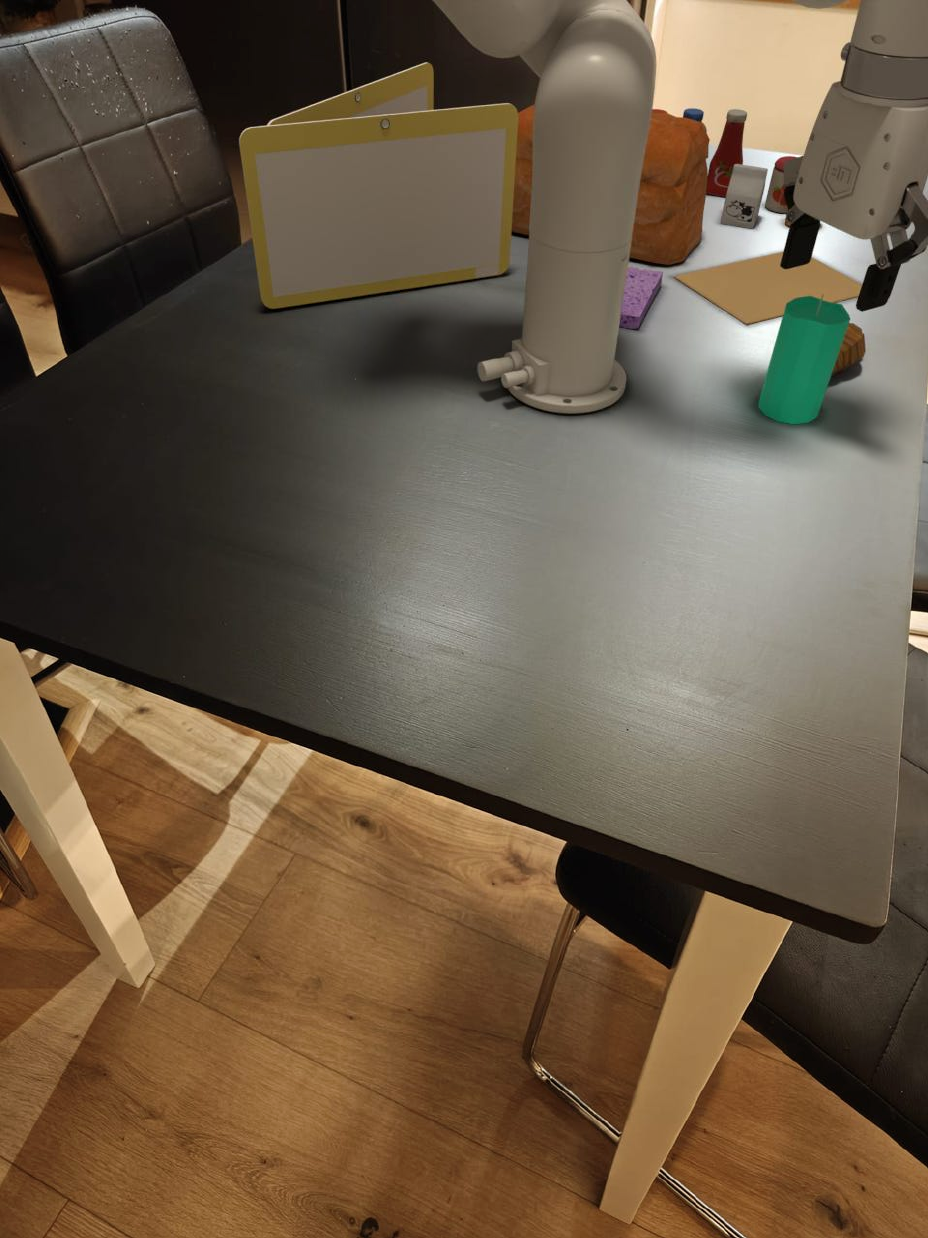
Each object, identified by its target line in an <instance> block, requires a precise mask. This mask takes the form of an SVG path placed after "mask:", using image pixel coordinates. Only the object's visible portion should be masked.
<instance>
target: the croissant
mask: <svg viewBox="0 0 928 1238" xmlns="http://www.w3.org/2000/svg"><path fill="white" fill-rule="evenodd" d="M866 352H867V351H866V338H865V333H863V328H861V327H860V326H858V325H857V324H855V323H853V322H849V324H848V327H847V330H846V333H845V336H844V339H843V342H842V345H841V348H840V351H839V354H838V357H837V360H836V363H835V366H834V369H833V371H832V374H831V377H830V379H832V378H833V376H835V375H837V374H840V373H842V372H843V371H845V370H846V369H848V368H850V367H851V366H853V365H854V364H855V363H856V362H858V361H860V360H861V359H863V358H864V357H865V355H866Z"/></svg>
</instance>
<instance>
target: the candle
mask: <svg viewBox="0 0 928 1238" xmlns="http://www.w3.org/2000/svg"><path fill="white" fill-rule="evenodd" d="M823 296H824V294H822V297H821V299H819V298H816V297H813V296H806V297H799V298H795V299H793V300H791V301H790V302H788V303H786V307H785V310H784V314H783V316H781V322H780V324H779V329H778V332H777V335H776V340H775V342H774V346H773V349H772V352H771V357H770V359H769V363H768V368H767V370H766V374H765V378H764V381H763V384H762V388H761V392H760V395H759V399H758V405H757V408H758V409H759V410H760V411H761V412H762V414H763V415H764V416H766V417H768V418H770V419H772V420H774V421H775V422H779V423H785V424H790V425H801V424H808V423H811V422H812V421H813V420H815V419H816V418H818V416H819V413H820V409H821V407H822V405H823V401H824V397H825V395H826V392H827V389H828V387H829V383H830V380H831V378H832V377H831V374H832V371H833V369H834V366H835V363H836V360H837V357H838V354H839V351H840V348H841V345H842V342H843V339H844V336H845V333H846V330H847V327H848V324H849V323H850V321H851V317H850V314H849V312H848V311H847V310H846V308H845V306H844V305H843V304H842V303H839V302H835V303H832V302H827V301H824V300H822V299H823ZM830 377H831V378H830Z"/></svg>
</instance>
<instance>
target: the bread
mask: <svg viewBox="0 0 928 1238" xmlns="http://www.w3.org/2000/svg"><path fill="white" fill-rule="evenodd" d="M534 106H535V102H534V103H533V104H532V105H531V106H528V107H526V108H525V109H523V110H520V111H519V112H518V131H517V148H516V164H515V181H514V197H513V213H512V230H511V232H513V233H517V234H521V235H525V236H529V233H530V232H529V223H530V207H531V191H532V167H533V116H534ZM702 123H703V121H702V122H698V121H695V120H692V119H689V118H683V116H682V117H681V116H676V115H673V114H670V113H668V112H667V113H652V115H651V122H650V128H649V133H648V139H647V144H646V149H645V154H644V161H643V167H642V173H641V179H640V186H639V193H638V199H637V206H636V213H635V220H634V226H633V233H632V242H631V249H630V256H629V259H635V260H640V261H644V262H649V263H655V264H662V265H666V266H670V265H674V264H677V263H681V262H684V260H686V258H687V257H688V256H689V254H690V253H691V252H692V251H693V249H694V248H696V246H697V245H698V244H699V243H700V242H701V240H702V234H703V222H704V212H705V211H704V210H705V204H706V197H707V193H706V188H707V178H708V171H709V169H708V163H707V159H708V158H709V147H710V146H709V144H710V142H711V141H710V137H709V135H708V132H707V133H706V131H705V128H704V126H703V124H702Z"/></svg>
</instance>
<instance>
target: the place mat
mask: <svg viewBox="0 0 928 1238" xmlns="http://www.w3.org/2000/svg"><path fill="white" fill-rule="evenodd" d="M783 252H784V250H783V251H779V252H775V253H769V254H766V255H762V256H757V257H753V258H748V259H743V260H740V261H735V262H731V263H725V264H721V265H717V266H713V267H707V268H703V269H699V270H695V271H694V270H693V271H691V272H687V273H681V274H676V275H674V276H673V278H674V279H675V280H677V281H679V282H680V283H681V284H683V285H684V286H686V287H688V289H691V290H692V291H694V292H695V293H697V294H698V295H700V296H702V298H704V299H706V300H708V301H709V302H711V303H712V304H713V305H715V306H717V307H718V308H720V309H721V310H723V311H724V312H726V313H727V314H729V315H730V316H732V317H733V318H735V319H736V320H738V321H739V322H741V323H743V324H744V325H745V326H749V325H752V324H757V323H761V322H764V321H765V322H766V321H769V320H772V319H776V318H780V317H783V314H784V310H785V307H786V303H788V302H790V301H791V300H793V299H795V298H799V297H806V296H813V297H816V298H819V299H821V297H822V294H824V296H823V299H822V300H824V301H827V302H832V303H839V302H843V301H847V300H851V299H854V298H858V296H859V293H860V290H861V287H862V284H863V283H860V282H859V281H857V280H855V279H853V278H851V277H850V276H848V275H845V274H844V273H842V272H840V271H838V270H836V269H835V268H832V267H831V266H829V265H827V264H826V263H823V262H822V261H820V260H818V259H816V258H815V257H813V256H812V257H811V261H810V262H809V263H808V264H806V265H802V266H798V267H794V268H790V269H786V270H785V269H783V268H782V267H780V264H781V260H782V256H783Z"/></svg>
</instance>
